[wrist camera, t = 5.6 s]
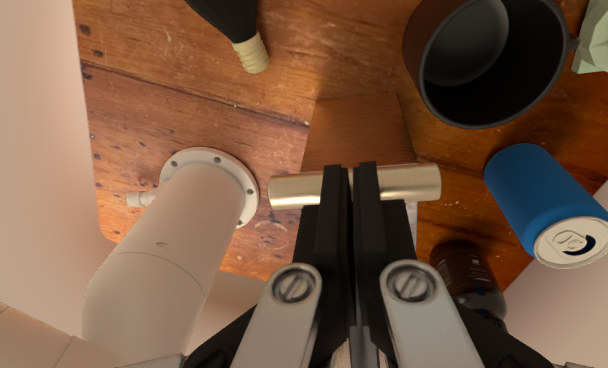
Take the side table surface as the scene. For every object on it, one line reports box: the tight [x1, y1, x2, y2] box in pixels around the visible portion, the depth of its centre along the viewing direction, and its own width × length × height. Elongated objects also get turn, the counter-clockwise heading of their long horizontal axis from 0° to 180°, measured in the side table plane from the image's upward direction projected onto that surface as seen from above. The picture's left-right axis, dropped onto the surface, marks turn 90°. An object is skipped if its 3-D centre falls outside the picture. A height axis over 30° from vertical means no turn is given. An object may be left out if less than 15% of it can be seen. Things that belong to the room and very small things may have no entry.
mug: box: [402, 0, 581, 129], centre depth 26 cm, size 9×12×9 cm
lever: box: [268, 163, 441, 368], centre depth 13 cm, size 13×6×2 cm, turn 10°
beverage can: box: [484, 143, 608, 269], centre depth 32 cm, size 6×6×12 cm
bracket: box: [300, 92, 418, 368], centre depth 25 cm, size 10×8×30 cm
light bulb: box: [185, 0, 270, 74], centre depth 28 cm, size 7×7×12 cm
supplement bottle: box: [430, 240, 509, 334], centre depth 40 cm, size 7×7×12 cm
